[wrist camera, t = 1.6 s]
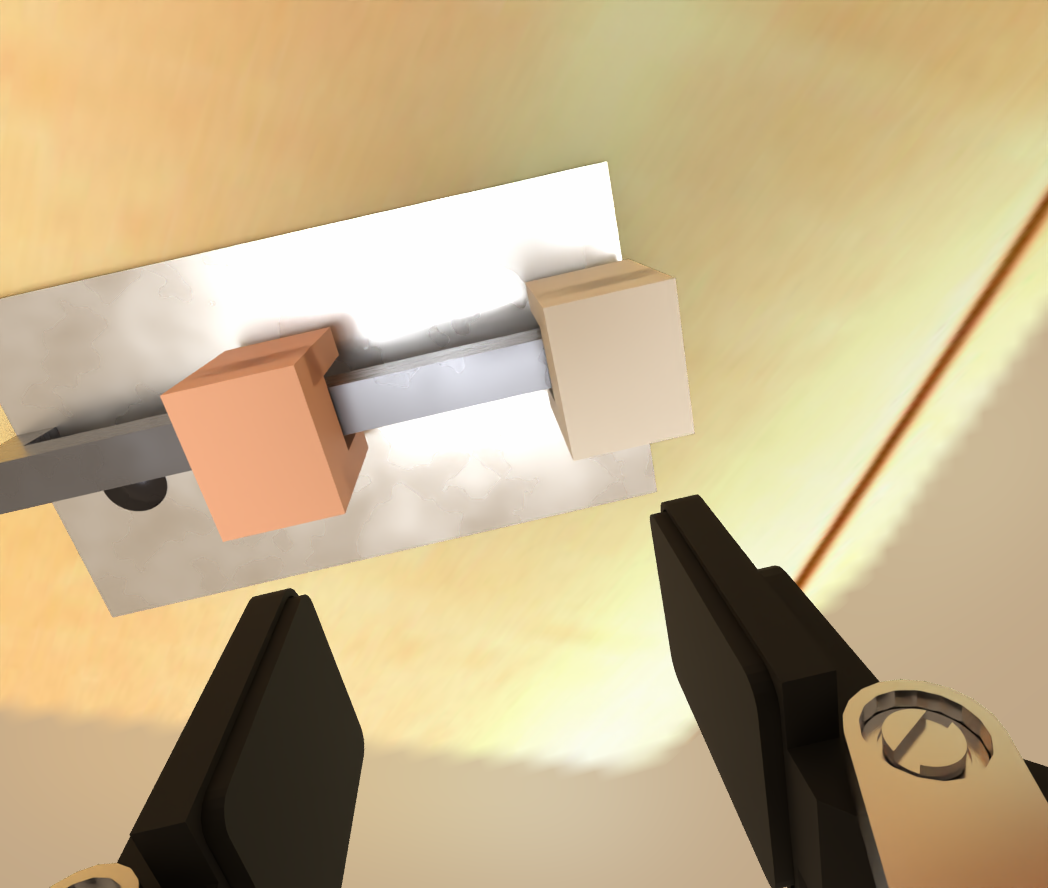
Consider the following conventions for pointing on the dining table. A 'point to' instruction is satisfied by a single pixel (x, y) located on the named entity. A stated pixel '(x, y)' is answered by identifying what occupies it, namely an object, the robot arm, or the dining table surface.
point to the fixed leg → (613, 356)
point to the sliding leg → (267, 435)
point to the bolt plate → (362, 341)
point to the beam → (358, 398)
